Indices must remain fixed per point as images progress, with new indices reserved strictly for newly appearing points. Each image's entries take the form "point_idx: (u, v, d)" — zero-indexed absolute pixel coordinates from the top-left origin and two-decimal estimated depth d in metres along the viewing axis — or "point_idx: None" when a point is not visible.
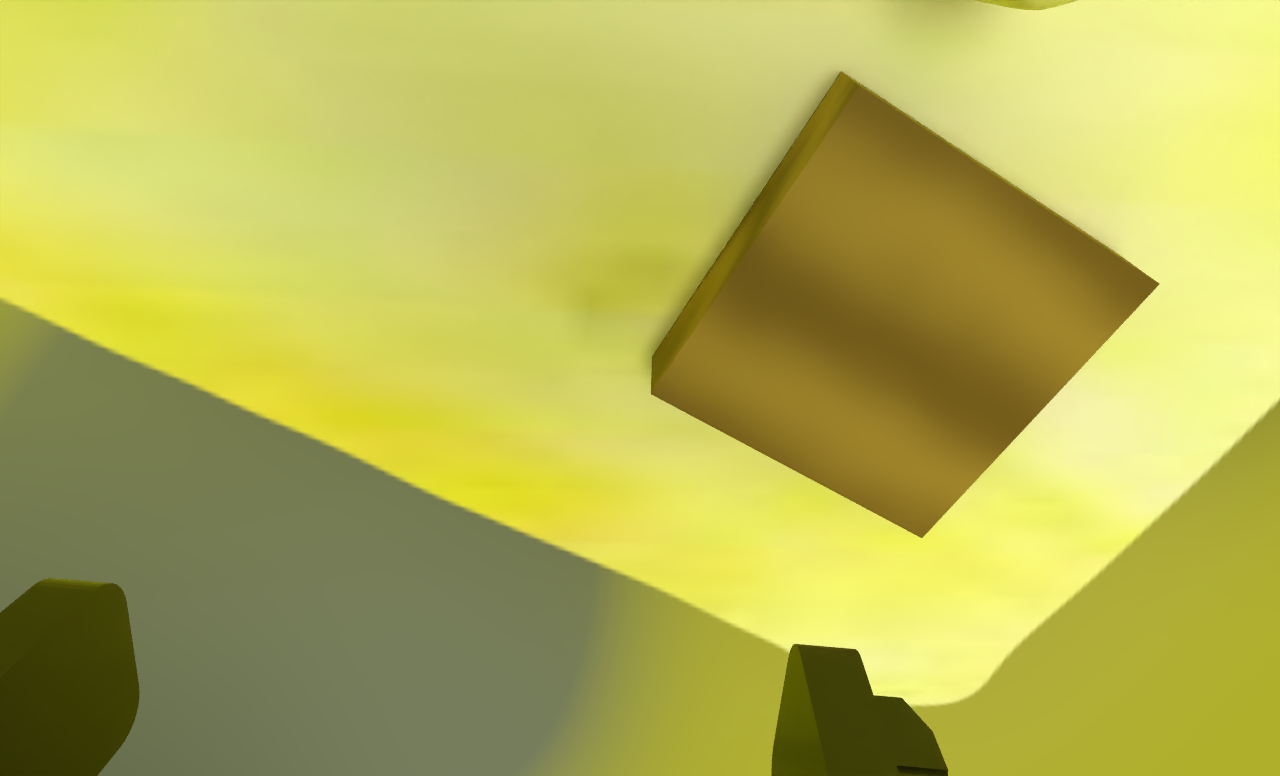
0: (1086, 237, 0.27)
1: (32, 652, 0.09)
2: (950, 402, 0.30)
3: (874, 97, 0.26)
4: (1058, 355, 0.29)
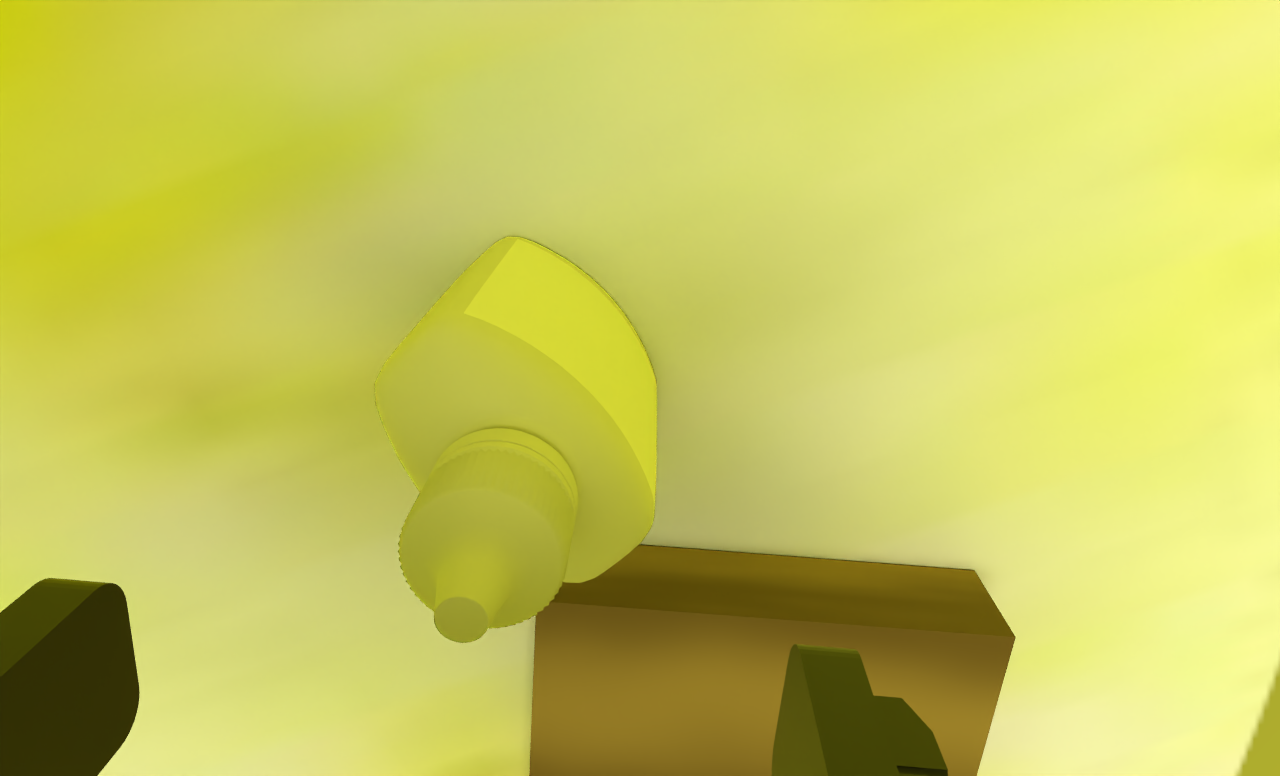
0: (891, 629, 0.22)
1: (31, 652, 0.09)
2: None
3: (558, 604, 0.22)
4: (947, 746, 0.23)
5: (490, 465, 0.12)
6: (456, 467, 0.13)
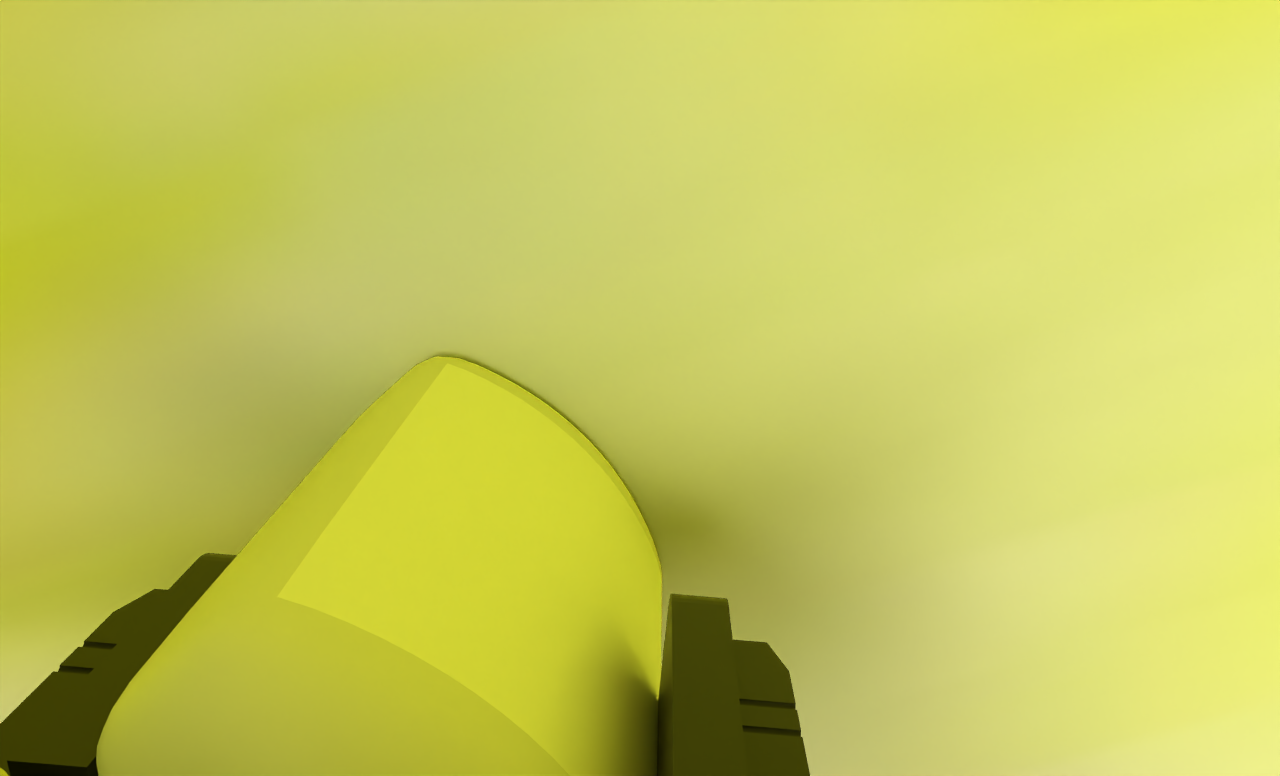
0: None
1: None
2: None
3: None
4: None
5: None
6: None
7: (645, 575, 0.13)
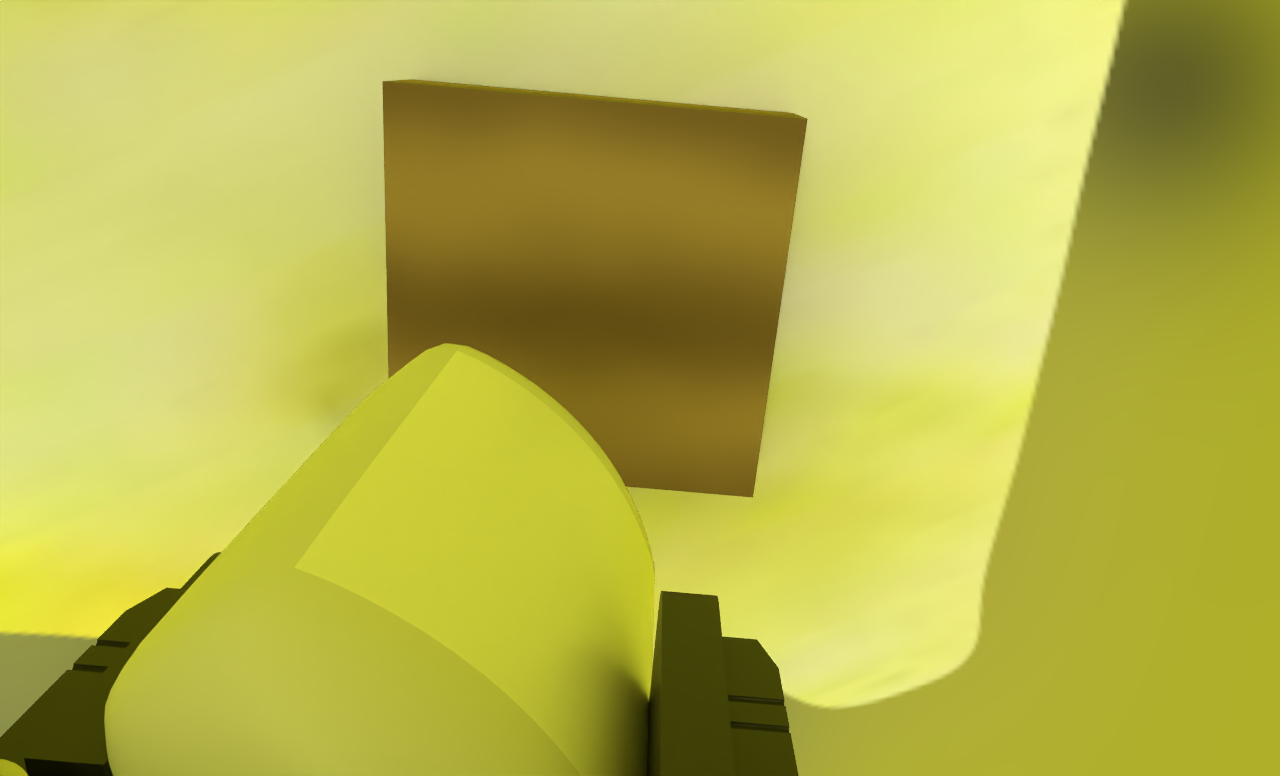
0: (697, 110, 0.24)
1: None
2: (681, 341, 0.27)
3: (402, 84, 0.24)
4: (756, 241, 0.26)
5: None
6: None
7: (640, 572, 0.13)
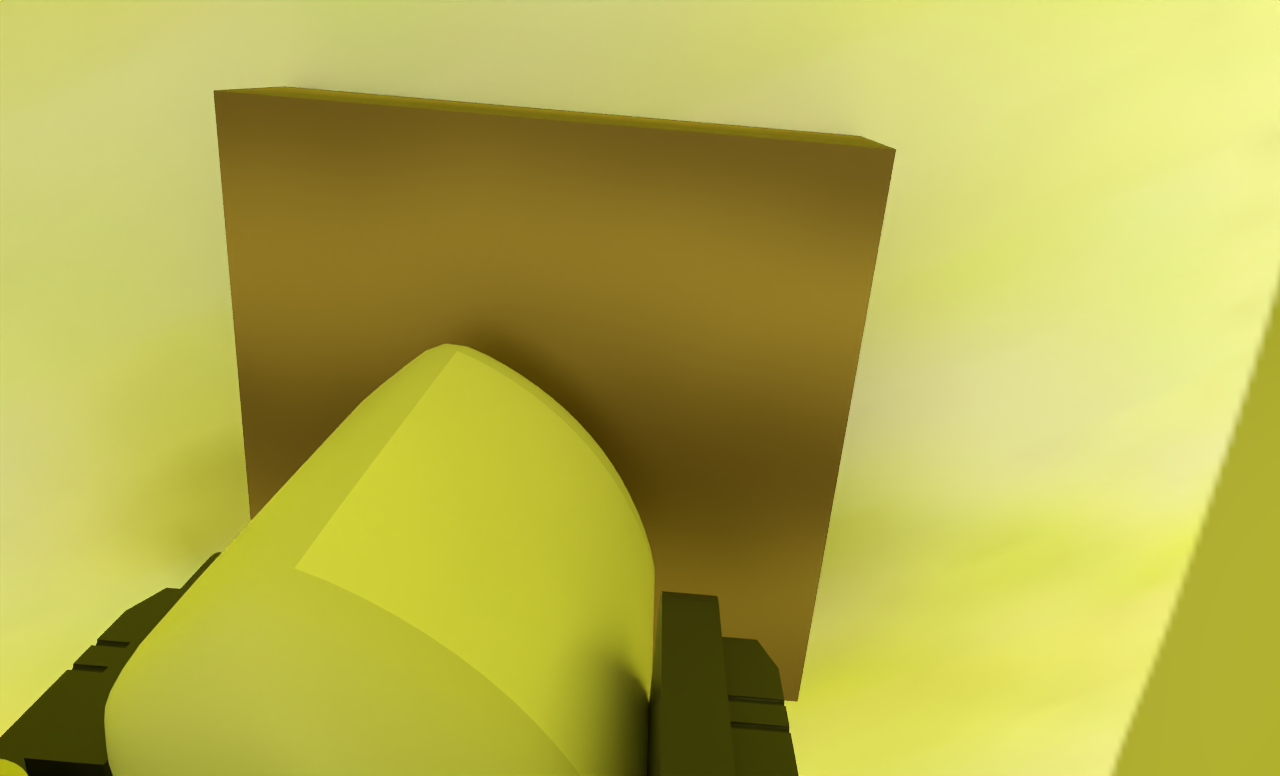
0: (719, 136, 0.15)
1: None
2: (692, 485, 0.18)
3: (245, 95, 0.15)
4: (809, 339, 0.16)
5: None
6: None
7: (640, 572, 0.13)
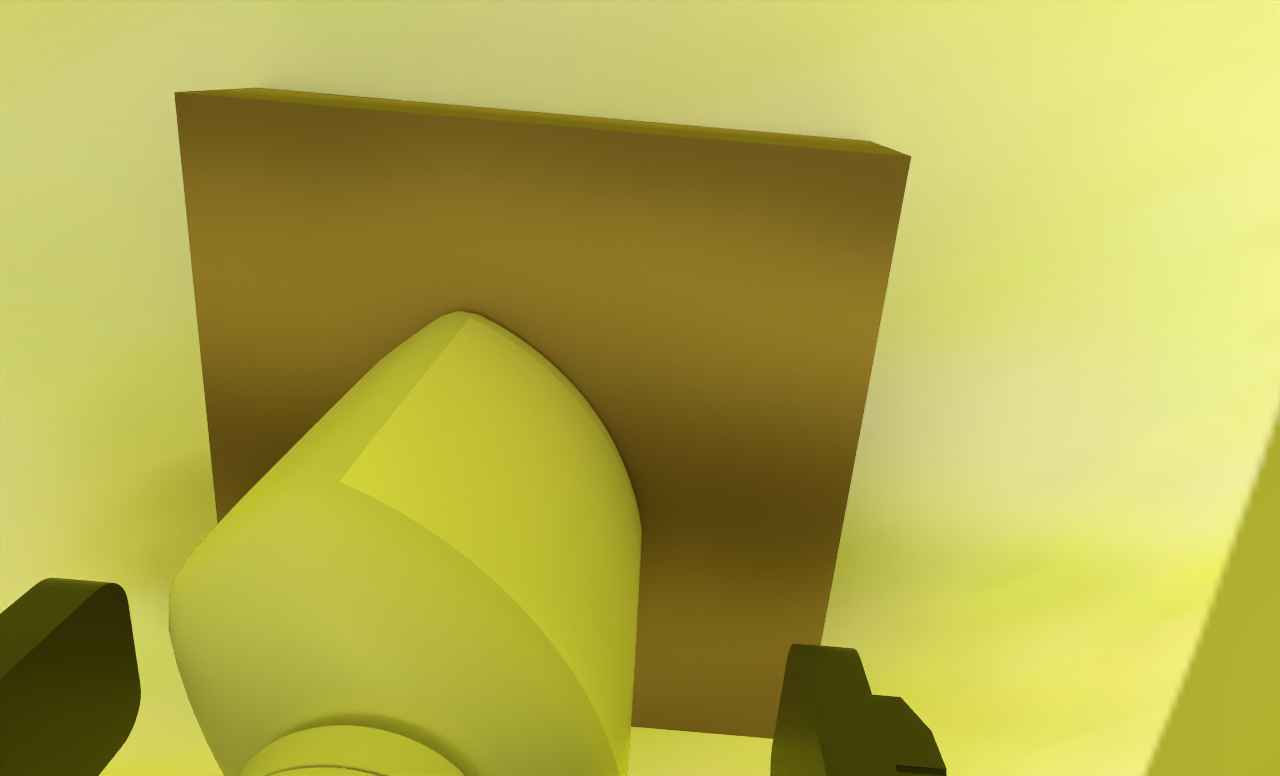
0: (720, 142, 0.14)
1: (34, 651, 0.09)
2: (691, 513, 0.16)
3: (208, 97, 0.14)
4: (817, 359, 0.15)
5: None
6: None
7: (630, 528, 0.14)
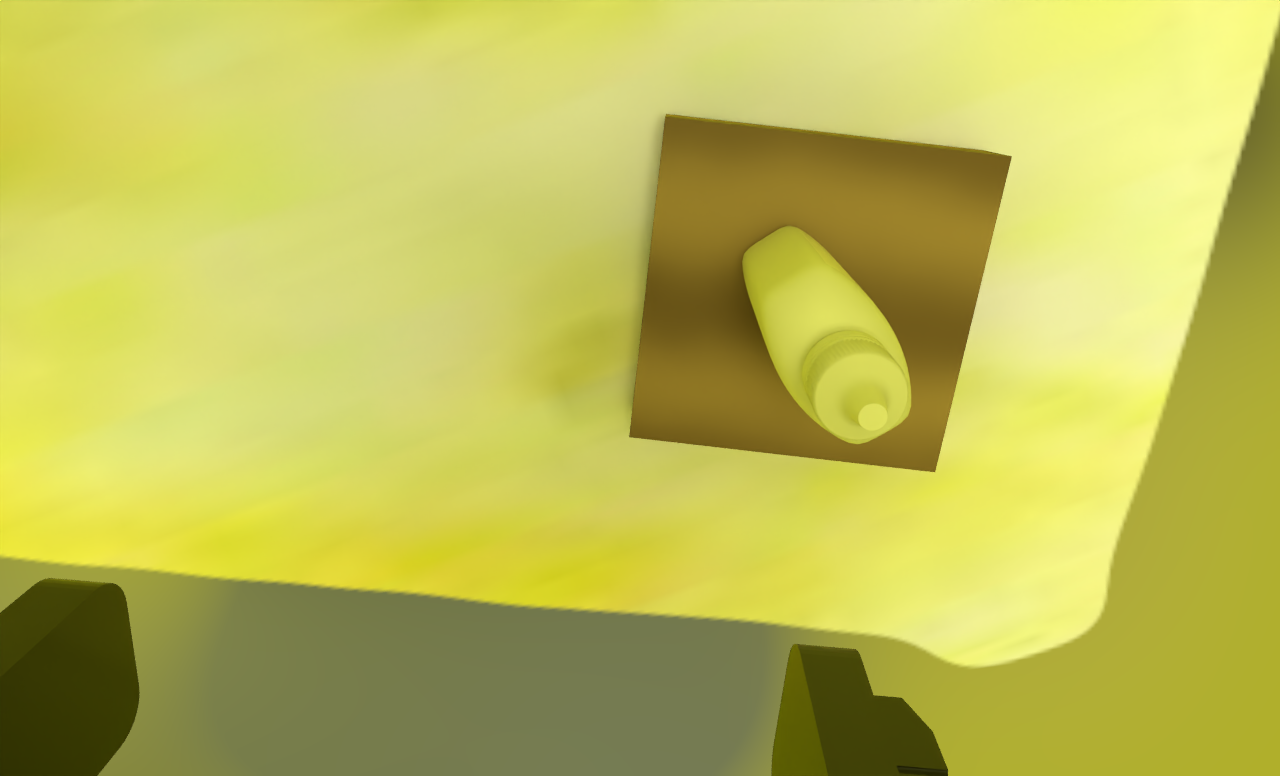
0: (921, 147, 0.30)
1: (32, 652, 0.09)
2: None
3: (681, 119, 0.30)
4: (959, 256, 0.31)
5: (870, 345, 0.22)
6: (848, 344, 0.22)
7: None
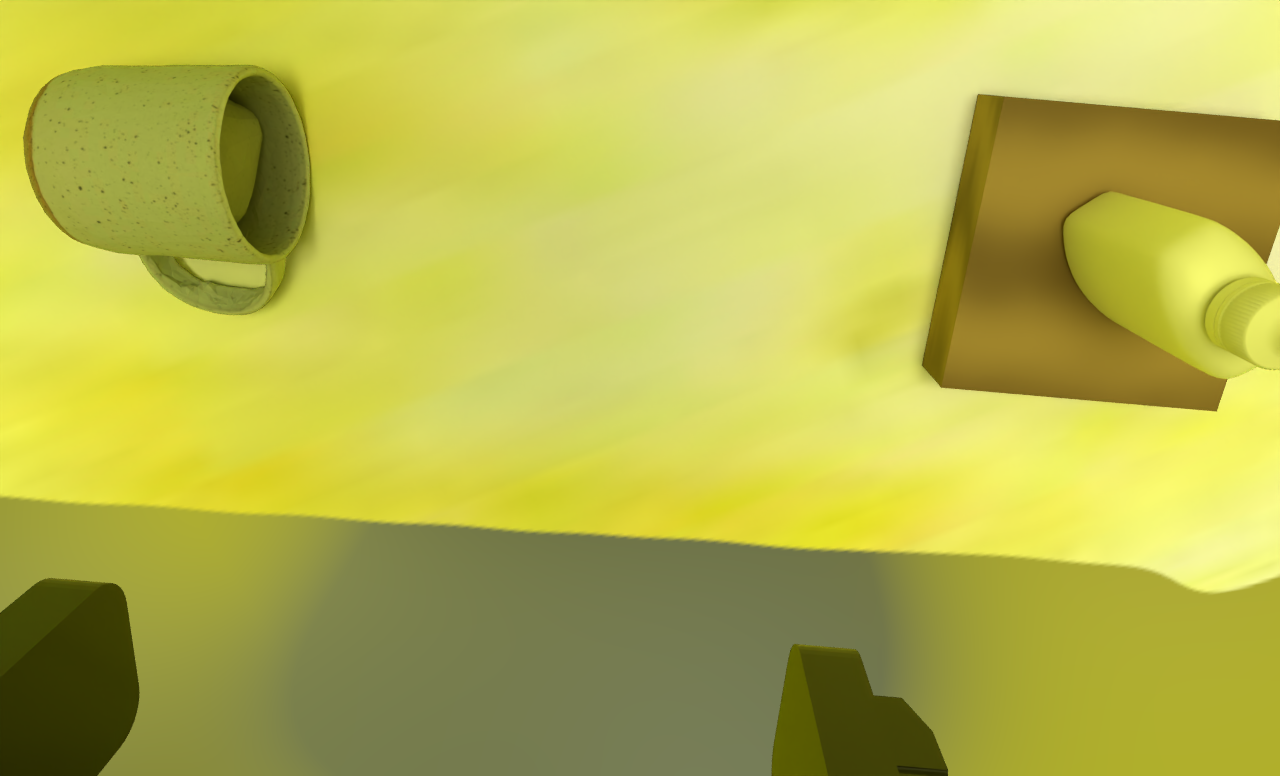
0: (1233, 117, 0.33)
1: (32, 653, 0.09)
2: None
3: (1018, 99, 0.33)
4: (1258, 214, 0.35)
5: None
6: (1268, 288, 0.26)
7: None
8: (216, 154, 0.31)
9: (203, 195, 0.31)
